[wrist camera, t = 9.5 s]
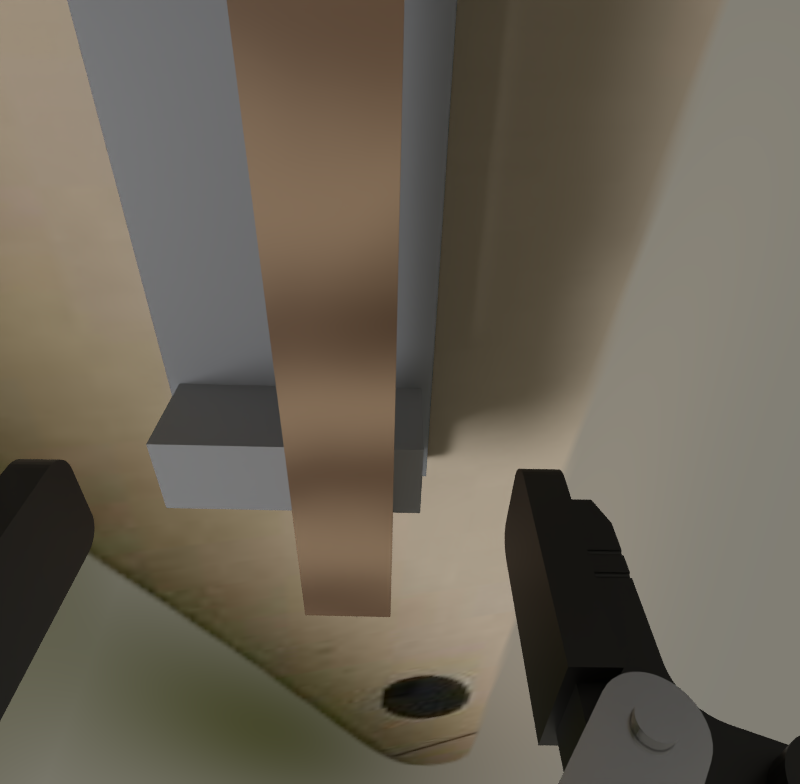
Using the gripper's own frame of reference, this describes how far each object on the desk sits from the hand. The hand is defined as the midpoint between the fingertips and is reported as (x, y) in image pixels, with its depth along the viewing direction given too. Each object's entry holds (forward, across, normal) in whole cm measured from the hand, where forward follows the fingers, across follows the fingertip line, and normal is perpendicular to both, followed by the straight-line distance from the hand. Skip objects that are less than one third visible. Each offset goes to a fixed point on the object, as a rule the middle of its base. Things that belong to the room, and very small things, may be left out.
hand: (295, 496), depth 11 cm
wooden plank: (+11, 0, 0) cm, 11 cm away
